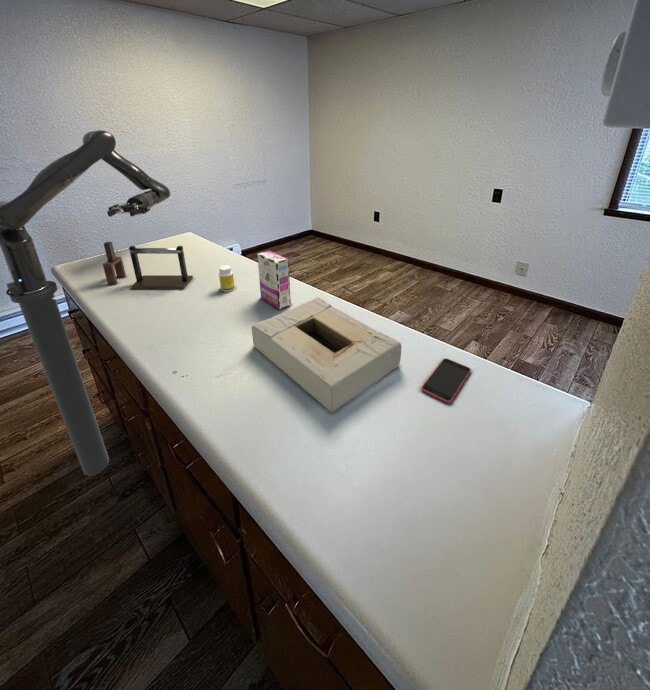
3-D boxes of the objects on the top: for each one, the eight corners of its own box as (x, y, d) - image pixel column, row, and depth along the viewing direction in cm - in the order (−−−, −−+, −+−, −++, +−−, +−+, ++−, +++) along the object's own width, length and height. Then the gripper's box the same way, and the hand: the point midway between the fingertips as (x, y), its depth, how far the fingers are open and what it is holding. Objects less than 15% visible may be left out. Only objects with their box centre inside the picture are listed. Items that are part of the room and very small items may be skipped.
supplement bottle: (236, 289, 128) (234, 268, 125) (223, 293, 126) (221, 271, 122) (231, 284, 132) (229, 263, 129) (219, 288, 129) (216, 266, 126)
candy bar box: (291, 305, 118) (289, 258, 111) (279, 310, 115) (276, 263, 108) (272, 293, 125) (269, 249, 119) (260, 298, 122) (256, 253, 116)
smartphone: (472, 368, 87) (450, 402, 77) (471, 370, 88) (450, 404, 78) (444, 357, 91) (420, 388, 81) (444, 358, 92) (419, 390, 82)
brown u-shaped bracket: (115, 284, 133) (105, 246, 127) (107, 284, 133) (97, 246, 127) (126, 276, 139) (117, 239, 133) (118, 276, 139) (109, 239, 133)
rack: (184, 289, 129) (177, 251, 123) (131, 289, 129) (122, 251, 124) (193, 278, 137) (187, 242, 131) (143, 278, 137) (135, 242, 132)
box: (401, 365, 90) (317, 315, 112) (403, 340, 87) (316, 293, 108) (333, 417, 75) (252, 347, 97) (333, 388, 72) (249, 323, 94)
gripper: (122, 194, 151) (99, 204, 136) (155, 194, 151) (136, 204, 136) (126, 212, 154) (103, 223, 139) (159, 211, 154) (140, 223, 139)
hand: (119, 214), depth 138 cm, fingers open, 8 cm apart
